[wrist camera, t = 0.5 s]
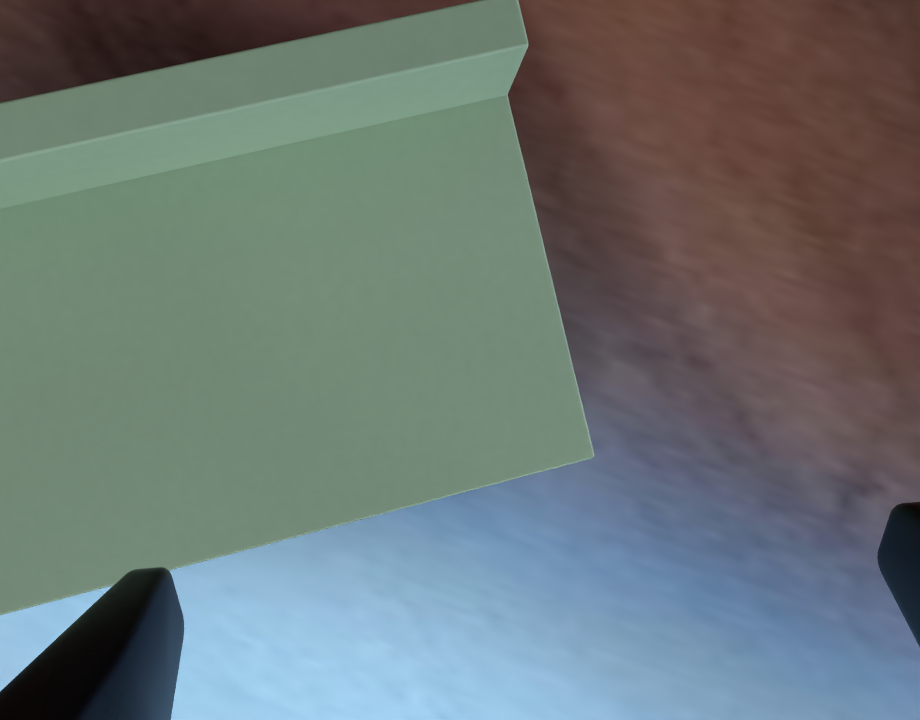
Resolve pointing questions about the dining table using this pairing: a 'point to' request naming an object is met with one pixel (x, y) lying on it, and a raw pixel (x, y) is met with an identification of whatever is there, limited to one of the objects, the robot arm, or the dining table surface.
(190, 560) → the mint green bench
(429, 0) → the dining table surface
